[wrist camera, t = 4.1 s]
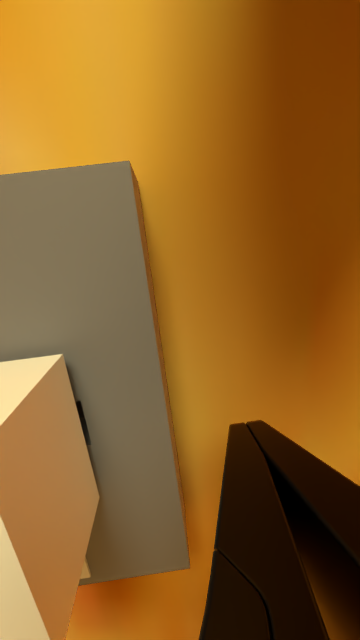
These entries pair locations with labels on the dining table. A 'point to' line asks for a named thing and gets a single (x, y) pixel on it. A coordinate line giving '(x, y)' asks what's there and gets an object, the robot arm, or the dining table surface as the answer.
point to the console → (98, 350)
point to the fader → (41, 499)
